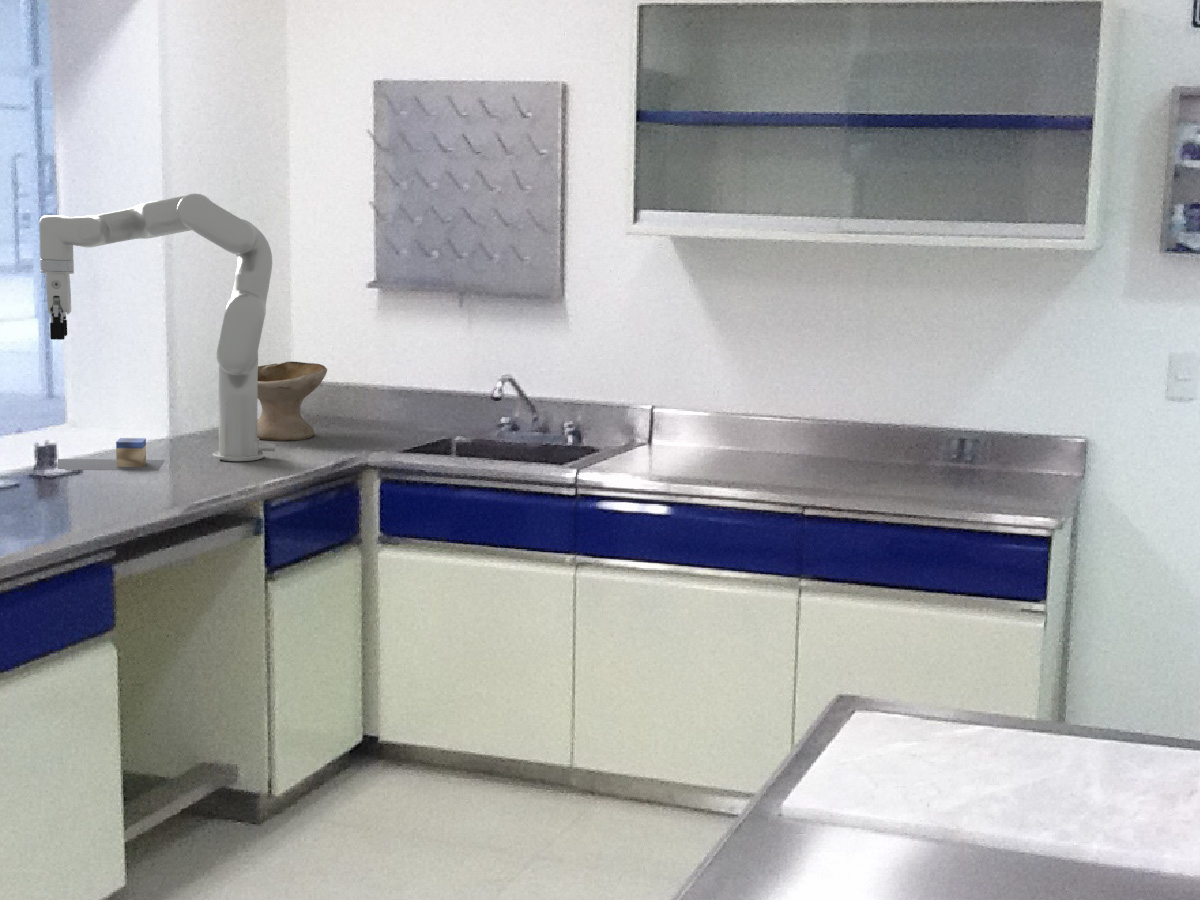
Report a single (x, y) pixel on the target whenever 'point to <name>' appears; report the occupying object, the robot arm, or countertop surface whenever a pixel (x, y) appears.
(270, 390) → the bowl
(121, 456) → the cube
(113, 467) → the mat
